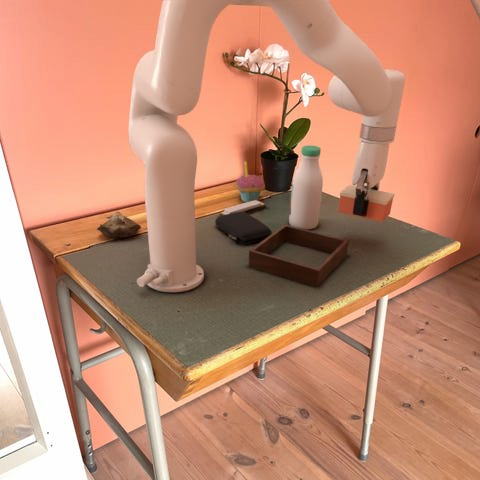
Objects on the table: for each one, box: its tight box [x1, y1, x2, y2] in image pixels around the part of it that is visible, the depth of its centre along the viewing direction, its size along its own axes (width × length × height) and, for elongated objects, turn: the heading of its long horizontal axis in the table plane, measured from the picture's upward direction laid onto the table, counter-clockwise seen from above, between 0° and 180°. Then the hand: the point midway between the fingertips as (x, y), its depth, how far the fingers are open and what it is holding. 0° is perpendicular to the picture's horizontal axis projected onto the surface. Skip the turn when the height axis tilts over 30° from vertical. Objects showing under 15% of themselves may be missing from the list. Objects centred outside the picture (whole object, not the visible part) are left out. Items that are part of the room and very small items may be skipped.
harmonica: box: [218, 200, 267, 217], centre depth 137 cm, size 15×3×2 cm, turn 131°
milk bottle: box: [288, 144, 324, 230], centre depth 126 cm, size 8×8×20 cm
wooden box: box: [248, 224, 350, 288], centre depth 113 cm, size 18×17×4 cm
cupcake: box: [235, 158, 266, 203], centre depth 143 cm, size 9×8×12 cm
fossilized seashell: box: [96, 211, 142, 239], centre depth 122 cm, size 8×7×10 cm
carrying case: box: [214, 212, 273, 245], centre depth 125 cm, size 11×3×15 cm
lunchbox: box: [337, 184, 395, 223], centre depth 118 cm, size 6×11×5 cm, turn 59°
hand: (364, 209), depth 119 cm, fingers closed on lunchbox, 6 cm apart
